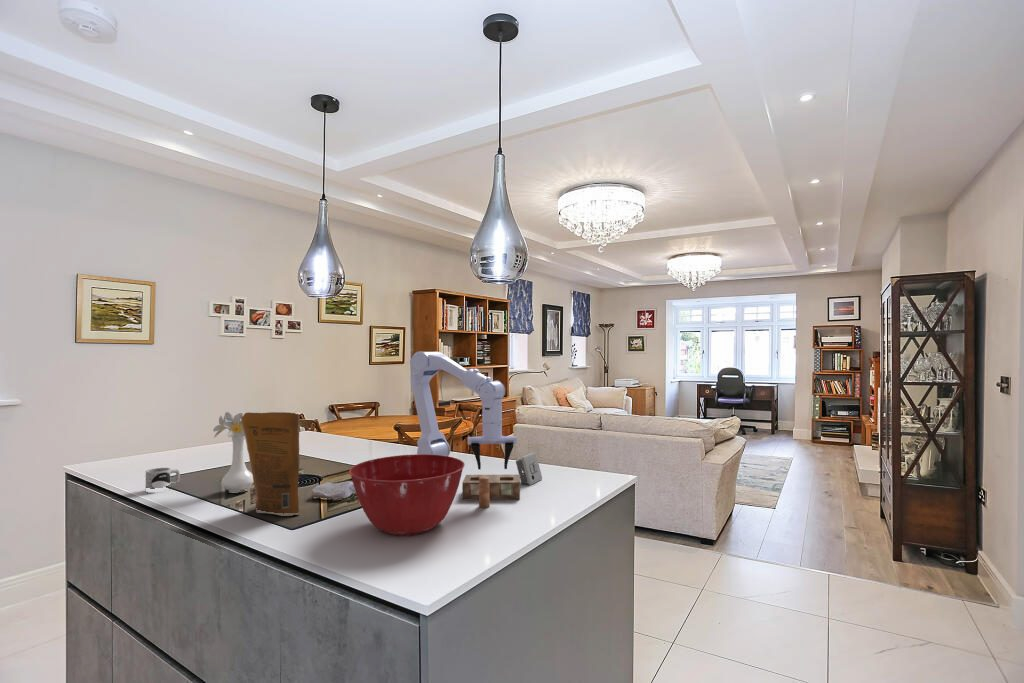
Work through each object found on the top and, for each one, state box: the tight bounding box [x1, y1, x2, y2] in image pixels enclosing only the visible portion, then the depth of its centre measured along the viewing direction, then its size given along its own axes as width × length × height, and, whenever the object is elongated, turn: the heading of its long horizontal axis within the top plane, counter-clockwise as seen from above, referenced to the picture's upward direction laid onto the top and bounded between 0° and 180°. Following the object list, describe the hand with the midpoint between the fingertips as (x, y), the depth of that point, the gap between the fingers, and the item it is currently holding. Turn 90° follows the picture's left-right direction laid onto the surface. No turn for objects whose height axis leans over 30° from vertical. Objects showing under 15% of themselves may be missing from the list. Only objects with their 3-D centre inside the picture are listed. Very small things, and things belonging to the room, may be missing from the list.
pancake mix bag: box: [240, 411, 301, 514], centre depth 146 cm, size 7×19×28 cm, turn 66°
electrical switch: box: [515, 452, 543, 486], centre depth 179 cm, size 9×5×9 cm, turn 152°
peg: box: [478, 477, 491, 509], centre depth 151 cm, size 3×3×8 cm
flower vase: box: [212, 411, 254, 491], centre depth 170 cm, size 13×18×25 cm
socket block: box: [461, 474, 521, 500], centre depth 163 cm, size 17×10×5 cm, turn 89°
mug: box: [145, 467, 181, 489], centre depth 173 cm, size 10×7×7 cm, turn 150°
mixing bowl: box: [348, 453, 465, 536], centre depth 134 cm, size 28×28×16 cm
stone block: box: [311, 480, 356, 499], centre depth 163 cm, size 12×5×10 cm
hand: (492, 468), depth 157 cm, fingers open, 7 cm apart
